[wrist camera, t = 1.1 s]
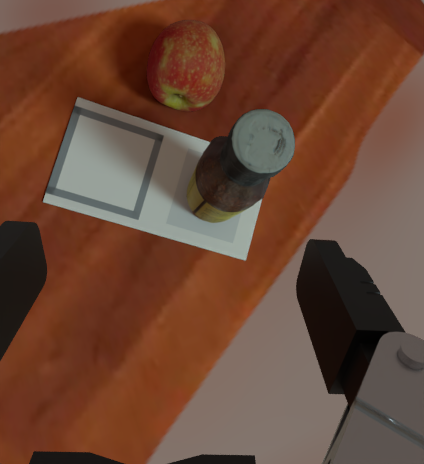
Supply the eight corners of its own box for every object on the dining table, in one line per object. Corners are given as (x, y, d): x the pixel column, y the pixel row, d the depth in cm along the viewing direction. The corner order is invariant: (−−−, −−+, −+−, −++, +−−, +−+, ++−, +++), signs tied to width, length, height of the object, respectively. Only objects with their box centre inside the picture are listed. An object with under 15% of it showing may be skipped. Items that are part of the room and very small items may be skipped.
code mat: (43, 202, 37) (42, 201, 37) (77, 97, 38) (77, 96, 38) (245, 260, 41) (245, 260, 41) (271, 163, 42) (271, 163, 42)
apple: (139, 106, 39) (137, 71, 32) (159, 38, 40) (162, -13, 32) (206, 128, 41) (221, 99, 33) (224, 62, 42) (242, 19, 34)
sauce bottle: (248, 201, 41) (341, 158, 21) (208, 235, 40) (267, 222, 20) (213, 157, 40) (275, 72, 21) (171, 190, 39) (195, 133, 20)
